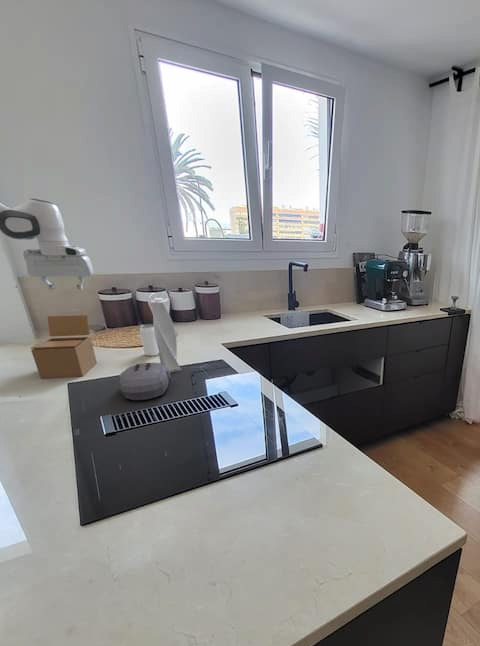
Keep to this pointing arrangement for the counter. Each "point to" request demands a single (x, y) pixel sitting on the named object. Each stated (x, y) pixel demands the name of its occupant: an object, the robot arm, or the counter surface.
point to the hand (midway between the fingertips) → (66, 289)
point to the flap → (68, 325)
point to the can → (149, 340)
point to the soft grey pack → (144, 381)
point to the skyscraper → (164, 333)
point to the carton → (64, 357)
